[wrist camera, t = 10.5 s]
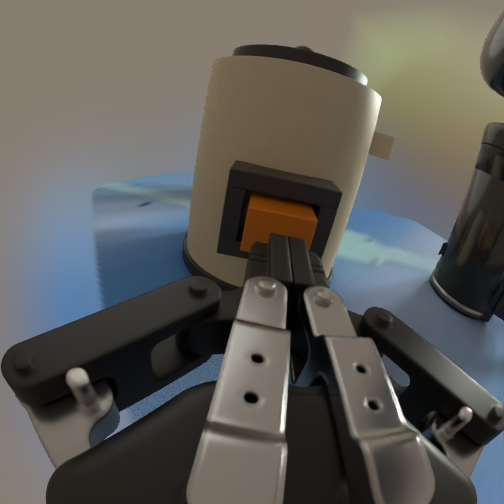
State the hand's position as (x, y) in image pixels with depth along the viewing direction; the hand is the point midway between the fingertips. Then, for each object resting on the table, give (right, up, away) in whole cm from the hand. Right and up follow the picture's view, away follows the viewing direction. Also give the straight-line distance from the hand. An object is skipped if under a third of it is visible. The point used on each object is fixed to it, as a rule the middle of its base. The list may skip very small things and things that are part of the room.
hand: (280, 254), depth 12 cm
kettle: (0, 0, +15) cm, 15 cm away
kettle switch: (0, 0, +3) cm, 3 cm away
